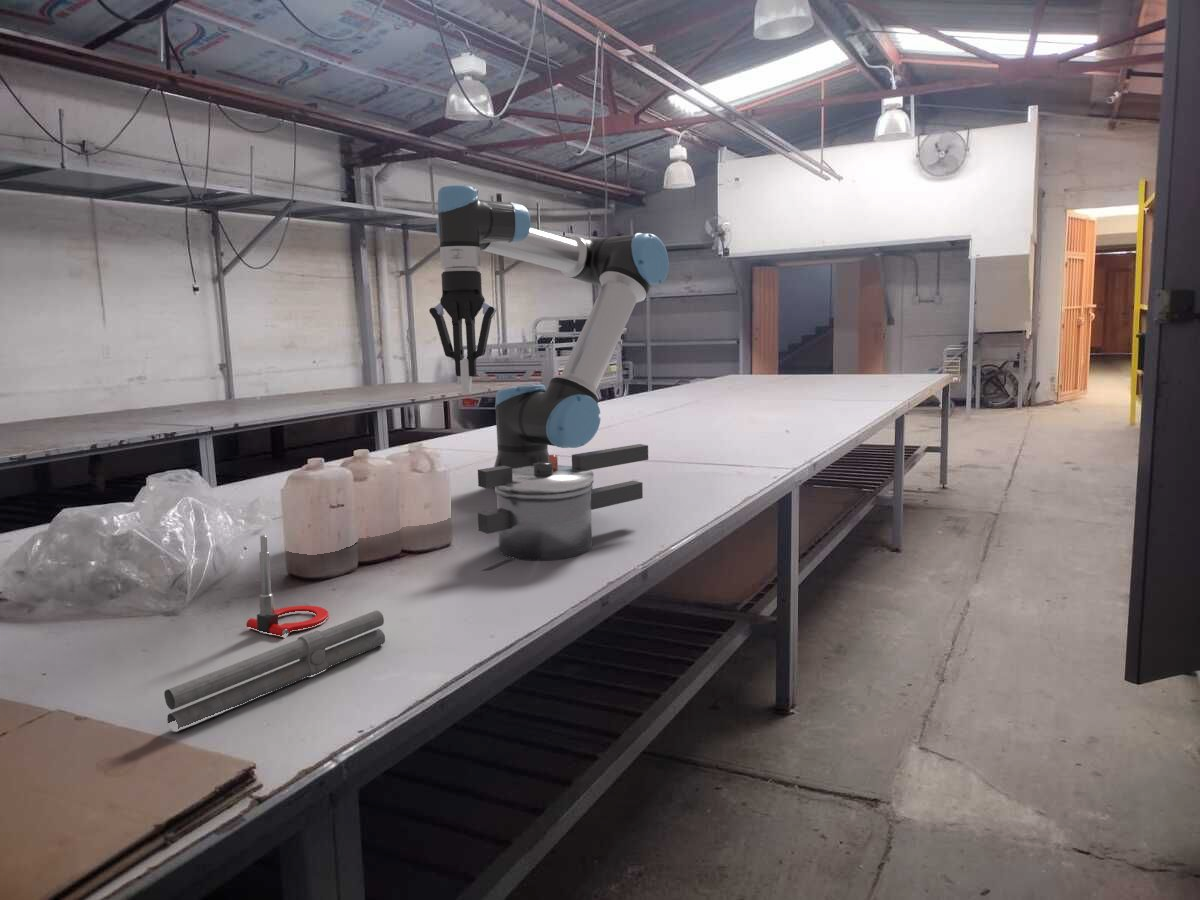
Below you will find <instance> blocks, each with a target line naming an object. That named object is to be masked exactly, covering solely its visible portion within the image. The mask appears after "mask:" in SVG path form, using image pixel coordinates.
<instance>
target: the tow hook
mask: <svg viewBox="0 0 1200 900" xmlns="http://www.w3.org/2000/svg"><path fill="white" fill-rule="evenodd" d="M259 540H260V541H259V543H260V551H259V553H258V554H259V557H258V558H259V573H260V578H259V579H260V593H261V594H260V595H259V597H258V599H259V613H258V614H256V618H254V617H253V618H249V619H248V620H247V621H246V626H245V627H246V628H247V627H251V628H254V629H257V630H259V631H263V632H267V633H272V634H276V635H280V636H282V635H284V634H285V633H286V634H287V633H289V632H290V631H292V630H298V629H303V628H308V627H312V626H315V625H317V624H319V623H321V622H323V621H324V620H325V619H326V618H327V617H328V618H329V611H328V610H327V609H326V608H323V607H320V606H316V605H294V606H293V605H291V606H286V607H281V608H278V609H274V608H275V604H274V603H275V602H274V594H273V593H272V586H271V585H272V583H271V580H272V579H271V564H270V563H271V562H270V551H268V537H267V535H265V534H263V535H260V536H259ZM295 611H309V612H313V613H315V614H316V616H314V617H312V618H310V619H306V620H303V621H299V622H285V623H282V624H280V625H279V618H278V616H279V615H282V614H285V613H289V612H295ZM259 631H258V632H259ZM289 634H290V633H289Z"/></svg>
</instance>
